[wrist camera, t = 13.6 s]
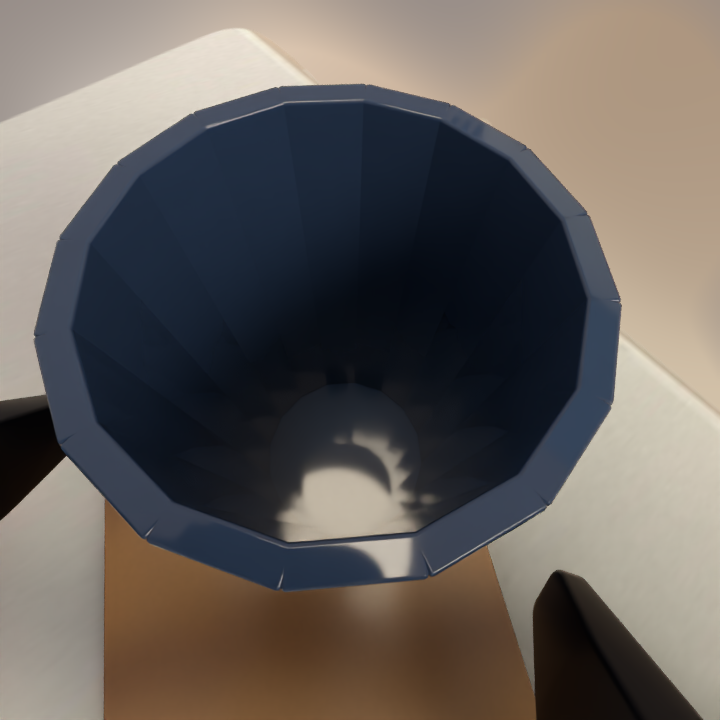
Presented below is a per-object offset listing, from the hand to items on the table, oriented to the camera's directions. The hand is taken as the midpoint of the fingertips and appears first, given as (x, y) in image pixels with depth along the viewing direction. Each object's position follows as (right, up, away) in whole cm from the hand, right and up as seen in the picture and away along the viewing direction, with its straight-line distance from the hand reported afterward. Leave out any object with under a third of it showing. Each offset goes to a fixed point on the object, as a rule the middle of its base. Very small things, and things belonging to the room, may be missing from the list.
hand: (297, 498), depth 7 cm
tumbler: (0, -1, +9) cm, 10 cm away
